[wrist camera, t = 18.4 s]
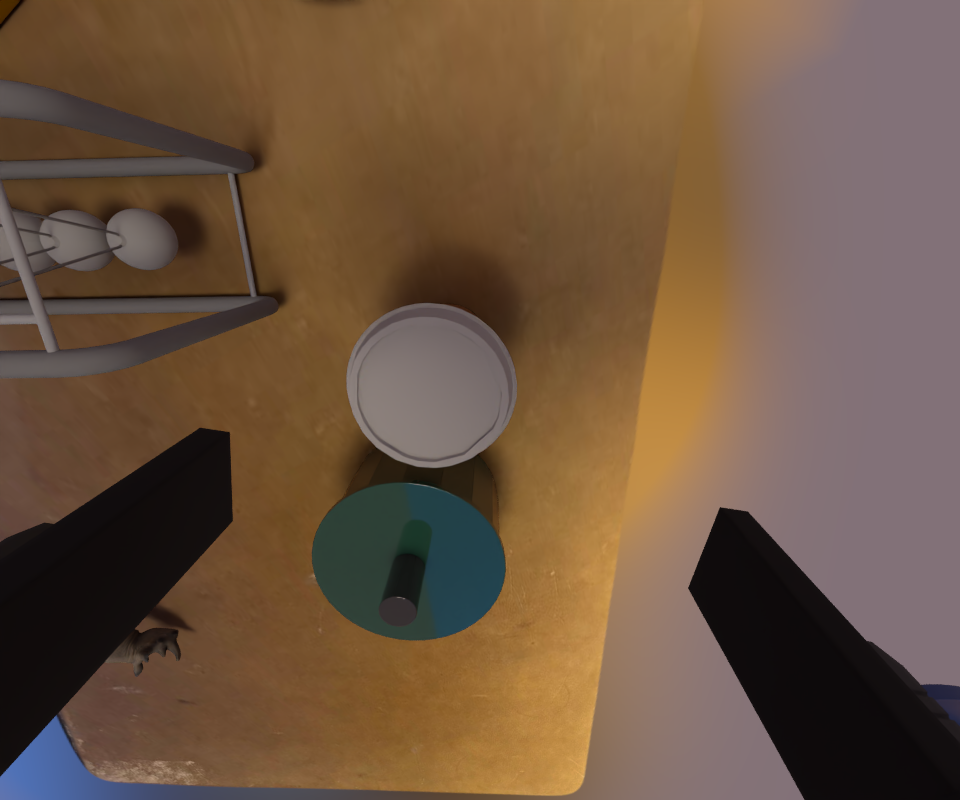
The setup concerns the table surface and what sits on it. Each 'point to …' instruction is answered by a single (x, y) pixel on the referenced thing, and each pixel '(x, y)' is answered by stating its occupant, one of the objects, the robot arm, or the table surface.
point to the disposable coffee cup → (431, 384)
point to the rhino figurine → (145, 647)
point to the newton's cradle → (108, 238)
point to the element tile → (6, 8)
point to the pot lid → (409, 559)
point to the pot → (435, 479)
